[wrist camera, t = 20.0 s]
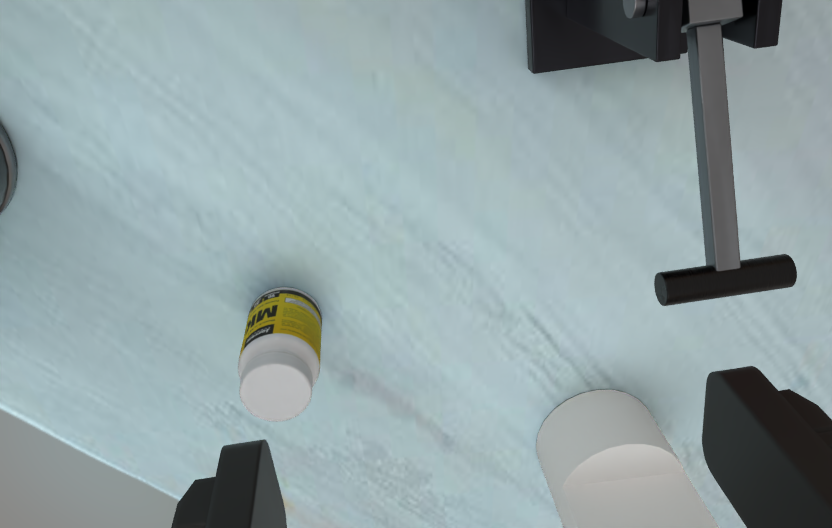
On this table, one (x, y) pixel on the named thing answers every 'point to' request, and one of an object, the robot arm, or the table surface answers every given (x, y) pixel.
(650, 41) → the lever bracket
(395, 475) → the table surface
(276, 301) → the supplement bottle
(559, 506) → the cylinder with rectangular tab
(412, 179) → the table surface
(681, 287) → the lever
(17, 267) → the table surface
